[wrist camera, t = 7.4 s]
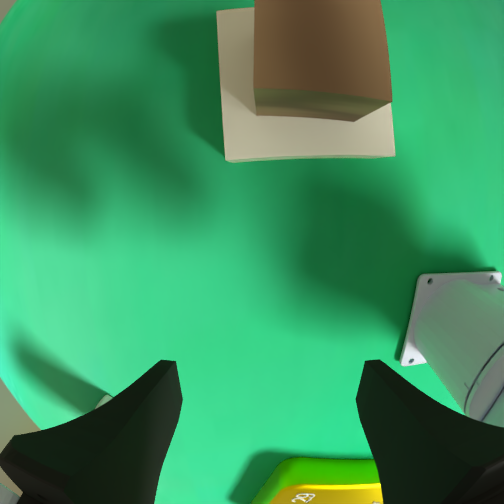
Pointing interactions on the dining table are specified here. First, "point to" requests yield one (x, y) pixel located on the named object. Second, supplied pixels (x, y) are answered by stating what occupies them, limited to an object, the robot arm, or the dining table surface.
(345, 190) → the dining table surface
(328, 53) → the walnut cube
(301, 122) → the cream base block
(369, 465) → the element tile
